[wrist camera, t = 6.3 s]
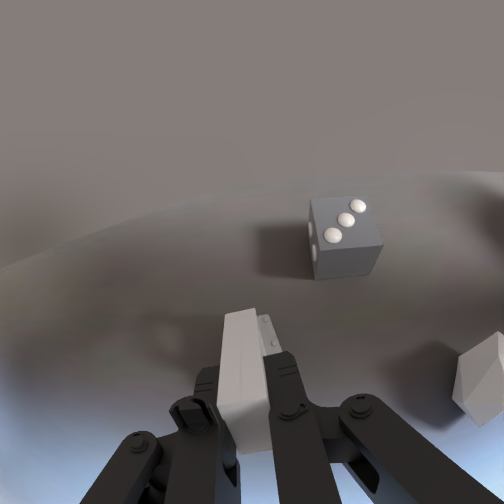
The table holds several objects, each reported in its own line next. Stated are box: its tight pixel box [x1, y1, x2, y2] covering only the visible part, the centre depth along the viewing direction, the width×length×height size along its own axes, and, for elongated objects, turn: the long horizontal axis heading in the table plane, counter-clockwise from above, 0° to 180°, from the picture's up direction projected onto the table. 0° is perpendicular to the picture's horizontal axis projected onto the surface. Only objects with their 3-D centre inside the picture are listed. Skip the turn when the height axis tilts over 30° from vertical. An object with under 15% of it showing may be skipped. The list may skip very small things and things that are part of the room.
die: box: [452, 331, 504, 427], centre depth 17 cm, size 8×9×10 cm
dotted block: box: [308, 196, 384, 280], centre depth 28 cm, size 6×6×6 cm
